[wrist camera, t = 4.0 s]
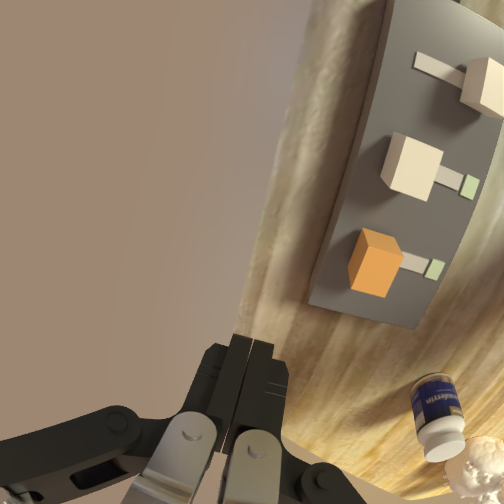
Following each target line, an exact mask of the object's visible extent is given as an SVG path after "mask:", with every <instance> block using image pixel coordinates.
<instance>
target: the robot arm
mask: <svg viewBox="0 0 504 504" xmlns="http://www.w3.org/2000/svg"><path fill="white" fill-rule="evenodd" d="M252 341H253V339H252V338H249V337H245V336H241V335H238V334H233V336H232V339H231V342H230V345H229V347H227V346H224V345H221V344H217V343H215V344H213V345H212V346H211V347H210V348H209V349H207V350H206V351H205V354H204V356H203V358H202V361H201V364H200V366H199V368H198V370H197V373H196V375H195V378H194V380H193V382H192V385H191V387H190V390H189V392H188V394H187V397H186V400H185V402H184V404H183V407H182V408H181V410H180V411H179V412H178V413H177V414H176V415H174V416H172V417H170V418H166V419H159V420H158V419H156V420H155V419H144V418H139V417H138V416H137V414H136V413H135V412H134V411H132V410H131V409H129V408H127V407H124V406H118V405H117V406H116V405H115V406H109V407H106V408H103V409H101V410H98V411H95V412H92V413H90V414H87V415H84V416H81V417H78V418H75V419H72V420H69V421H66V422H64V423H60V424H57V425H54V426H51V427H48V428H44V429H42V430H38V431H35V432H31V433H28V434H24V435H21V436H17V437H14V438H10V439H6V440H3V441H0V504H60V503H64V502H67V501H70V500H73V499H76V498H79V497H82V496H84V495H87V494H90V493H93V492H95V491H98V490H101V489H103V488H106V487H108V486H111V485H113V484H116V483H118V482H120V481H123V480H125V479H128V478H130V477H132V476H135V475H137V474H139V473H140V475H138V476H137V477H136V478H135V480H134V481H133V482H132V484H131V486H130V488H129V489H128V491H127V493H126V495H125V497H124V498H123V500H122V502H121V504H192V503H193V500H194V498H195V496H196V493H197V491H198V489H199V486H200V484H201V481H202V479H203V477H204V474H205V472H206V470H207V469H208V468H209V466H210V463H211V460H212V457H213V454H214V451H216V452H220V450H221V447H222V445H223V442H224V439H225V436H226V433H227V430H228V433H227V436H226V439H225V443H224V447H223V450H222V453H223V454H227V455H228V456H227V459H226V463H225V467H224V469H223V472H222V475H221V480H220V486H219V491H218V497H217V502H216V504H367V503H366V502H365V501H364V500H363V498H362V497H361V496H360V494H359V493H358V492H357V491H356V489H355V488H354V487H353V486H352V484H351V483H350V482H349V480H348V479H347V478H346V477H345V475H344V474H343V473H342V471H341V470H340V469H339V468H337V467H336V466H334V465H332V464H330V463H324V462H321V463H315V464H313V465H310V464H308V463H306V462H304V461H302V460H300V459H298V458H296V457H294V456H293V455H291V454H290V453H289V452H288V451H287V450H286V449H285V447H284V446H283V444H282V441H281V427H282V420H283V414H284V407H285V399H286V398H285V397H286V392H287V385H288V377H289V373H288V370H287V367H286V364H285V362H283V361H279V360H275V359H272V355H273V350H274V344H271V343H267V342H263V341H260V340H256V339H255V340H254V343H253V346H252V349H251V352H250V348H251V345H252ZM249 352H250V355H249ZM248 356H249V358H248ZM247 360H248V362H247ZM246 363H247V365H246ZM245 367H246V368H245ZM228 428H229V429H228Z"/></svg>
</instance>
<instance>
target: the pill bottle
mask: <svg viewBox="0 0 504 504" xmlns="http://www.w3.org/2000/svg"><path fill="white" fill-rule="evenodd" d="M410 396H411V403H412V408H413V414H414V420H415V426H416V433H417V438H418V441H419V443H420V444H421V445H423V446H425V447H424V456H425V459H426V461H428V462H441V461H445V460H448V459H450V458H452V457H454V456H456V455H458V454H459V453H460V452H461V451H462V450H463V449H464V448H465V439H464V435H463V434H461V433H462V431H463V429H464V425H465V422H464V417H463V414H462V410H461V407H460V403H459V400H458V396H457V393H456V390H455V386H454V383H453V380H452V378H451V377H450V376H449V375H447V374H445V373H434V374H430V375H427V376H425V377H423V378H422V379H420V380H419V381H418V382H416V383H415V385H414V386H413V387H412V389H411V393H410Z"/></svg>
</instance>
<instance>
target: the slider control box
mask: <svg viewBox="0 0 504 504" xmlns="http://www.w3.org/2000/svg"><path fill="white" fill-rule="evenodd" d="M486 57H490V58H491V59H493V60H495V61H496V62H498V63H499V64H501V65H503V66H504V30H503V29H501V28H500V27H498V26H497V25H495V24H493V23H492V22H490V21H488V20H487V19H485V18H483V17H482V16H480V15H478V14H477V13H475V12H473V11H471V10H469V9H468V8H466V7H464V6H462V5H460V0H387V3H386V8H385V13H384V18H383V23H382V28H381V33H380V38H379V42H378V47H377V51H376V56H375V60H374V64H373V68H372V73H371V77H370V81H369V85H368V89H367V93H366V97H365V101H364V105H363V109H362V112H361V116H360V120H359V124H358V127H357V131H356V135H355V138H354V142H353V145H352V149H351V152H350V156H349V159H348V163H347V166H346V170H345V173H344V176H343V180H342V183H341V186H340V190H339V193H338V196H337V199H336V202H335V206H334V209H333V212H332V215H331V218H330V221H329V224H328V227H327V230H326V233H325V236H324V239H323V242H322V245H321V248H320V251H319V254H318V257H317V260H316V263H315V266H314V269H313V272H312V274H311V277H310V280H309V292H308V304H311V305H314V306H318V307H322V308H326V309H330V310H334V311H338V312H342V313H346V314H350V315H354V316H358V317H362V318H366V319H370V320H374V321H378V322H383V323H387V324H391V325H395V326H399V327H404V328H408V329H412V330H414V329H415V328H416V326H417V325H418V323H419V321H420V319H421V318H422V316H423V314H424V313H425V311H426V309H427V307H428V306H429V304H430V302H431V300H432V298H433V297H434V295H435V293H436V291H437V289H438V287H439V285H440V283H441V281H442V280H443V278H444V276H445V274H446V272H447V270H448V268H449V266H450V264H451V262H452V259H453V257H454V255H455V253H456V251H457V249H458V247H459V244H460V242H461V240H462V238H463V236H464V233H465V231H466V229H467V226H468V224H469V221H470V219H471V217H472V214H473V212H474V209H475V207H476V204H477V201H478V199H479V196H480V193H481V191H482V188H483V185H484V182H485V179H486V177H487V174H488V171H489V168H490V164H491V161H492V158H493V155H494V151H495V148H496V145H497V141H498V138H499V134H500V130H501V126H502V122H503V119H499V118H494V117H488V116H486V115H484V114H482V113H481V112H479V111H477V110H475V109H473V108H471V107H469V106H468V105H466V104H464V103H462V102H460V98H461V93H462V89H463V85H464V80H465V75H466V70H467V65H468V61H469V60H475V59H480V58H486ZM393 132H397V133H400V134H402V135H405V136H408V137H410V138H413V139H415V140H418V141H420V142H423V143H425V144H427V145H430V146H432V147H434V148H437V149H439V150H441V151H443V155H442V158H441V162H440V165H439V168H438V171H437V174H436V177H435V179H434V182H433V185H432V188H431V191H430V194H429V196H428V199H427V202H426V201H423V200H421V199H418V198H415V197H413V196H410V195H407V194H404V193H401V192H399V191H396V190H393V189H390V188H389V187H388V186H387V184H386V183H385V182H384V181H383V180H382V178H381V177H380V175H381V172H382V169H383V165H384V162H385V159H386V156H387V152H388V149H389V146H390V142H391V139H392V135H393ZM362 228H365V229H369V230H372V231H375V232H378V233H382V234H385V235H388V236H391V237H394V238H395V240H396V242H397V244H398V246H399V248H400V250H401V252H402V254H403V256H404V258H403V260H402V262H401V264H400V267H399V269H398V271H397V273H396V275H395V277H394V280H393V282H392V284H391V286H390V288H389V290H388V292H387V294H386V296H385V298H384V297H380V296H376V295H372V294H369V293H365V292H361V291H357V290H353V289H351V286H350V279H349V273H348V264H349V262H350V259H351V256H352V254H353V251H354V249H355V246H356V243H357V241H358V238H359V235H360V233H361V230H362Z"/></svg>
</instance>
